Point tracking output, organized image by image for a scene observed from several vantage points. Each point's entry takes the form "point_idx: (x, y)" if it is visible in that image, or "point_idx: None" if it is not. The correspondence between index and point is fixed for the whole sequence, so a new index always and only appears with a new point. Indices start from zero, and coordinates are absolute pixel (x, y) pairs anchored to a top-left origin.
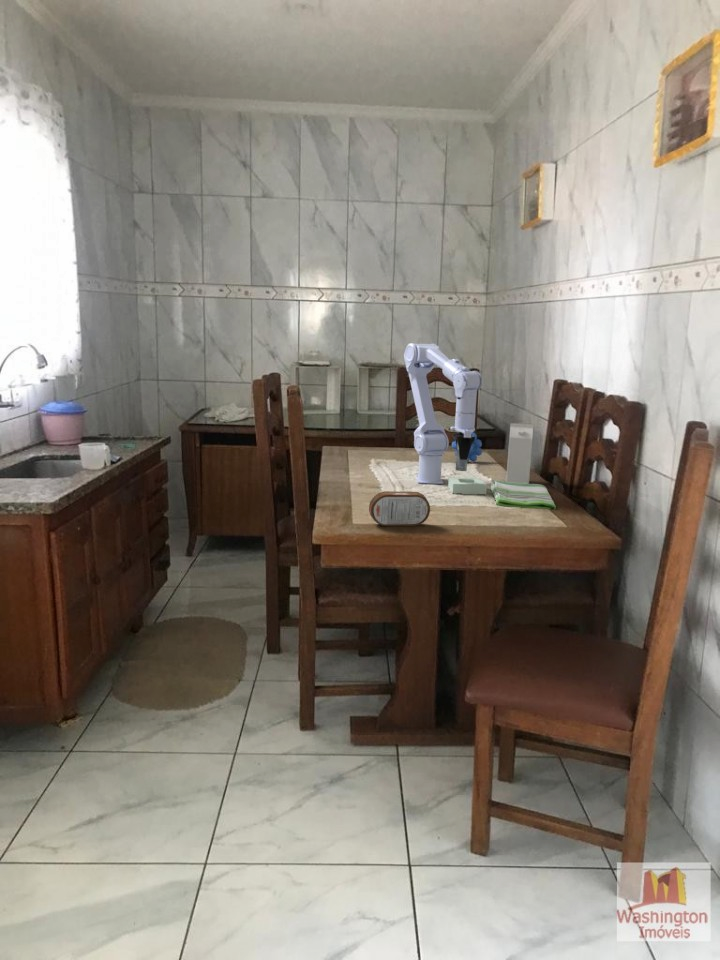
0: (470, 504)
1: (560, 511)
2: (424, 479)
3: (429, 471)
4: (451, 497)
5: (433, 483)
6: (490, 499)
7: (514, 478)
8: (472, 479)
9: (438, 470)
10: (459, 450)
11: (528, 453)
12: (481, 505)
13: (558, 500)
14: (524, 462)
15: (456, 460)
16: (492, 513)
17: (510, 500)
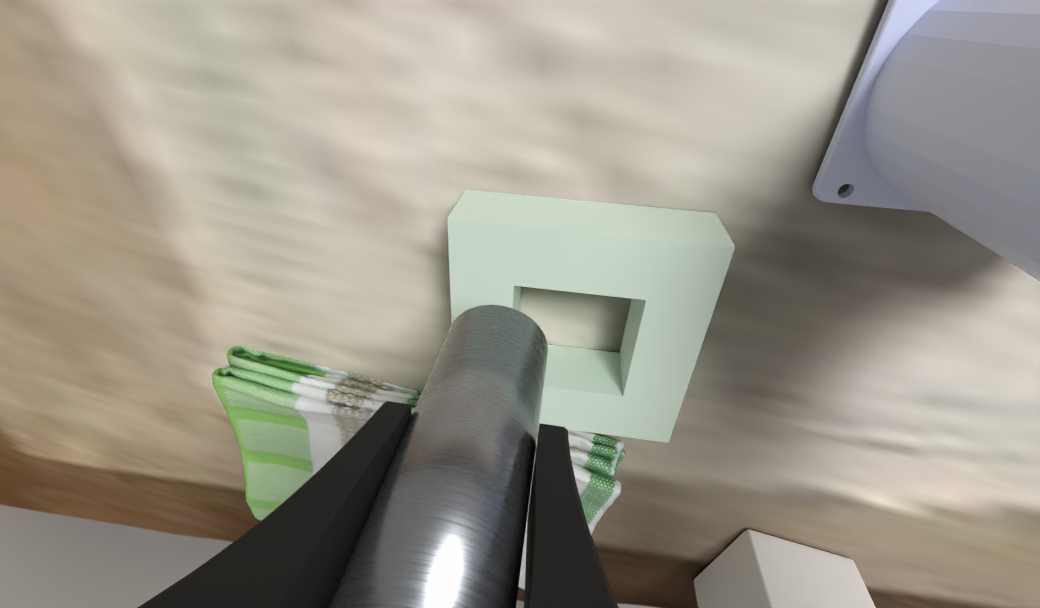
0: (200, 228)
1: (238, 509)
2: (938, 12)
3: (953, 78)
4: (352, 154)
5: (845, 108)
6: (362, 360)
7: (732, 574)
8: (624, 388)
9: (933, 197)
10: (305, 482)
11: None
12: (204, 280)
13: None
14: None
15: (470, 368)
16: (58, 283)
17: (265, 419)
